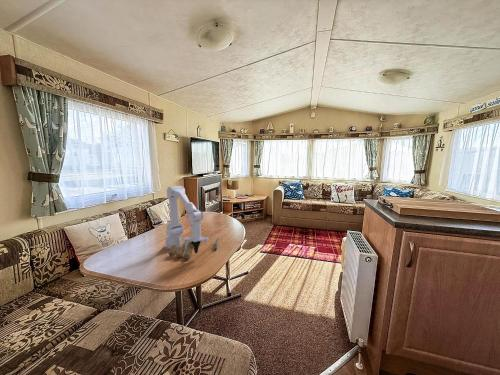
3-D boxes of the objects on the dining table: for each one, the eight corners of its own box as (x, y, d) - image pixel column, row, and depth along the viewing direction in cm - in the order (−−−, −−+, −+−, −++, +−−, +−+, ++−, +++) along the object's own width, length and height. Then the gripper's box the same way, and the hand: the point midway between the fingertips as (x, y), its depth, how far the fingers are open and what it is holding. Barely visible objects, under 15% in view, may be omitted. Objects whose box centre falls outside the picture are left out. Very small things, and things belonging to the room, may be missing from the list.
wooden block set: (165, 253, 121) (171, 240, 130) (172, 262, 125) (178, 249, 134) (191, 246, 118) (196, 234, 127) (198, 256, 122) (202, 243, 131)
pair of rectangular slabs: (183, 250, 135) (182, 244, 134) (187, 243, 146) (187, 237, 146) (216, 250, 136) (216, 244, 135) (218, 243, 148) (218, 237, 147)
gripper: (181, 233, 117) (182, 255, 119) (207, 233, 118) (207, 255, 120) (185, 229, 124) (185, 250, 126) (208, 229, 125) (209, 250, 127)
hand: (196, 252), depth 124 cm, fingers closed
